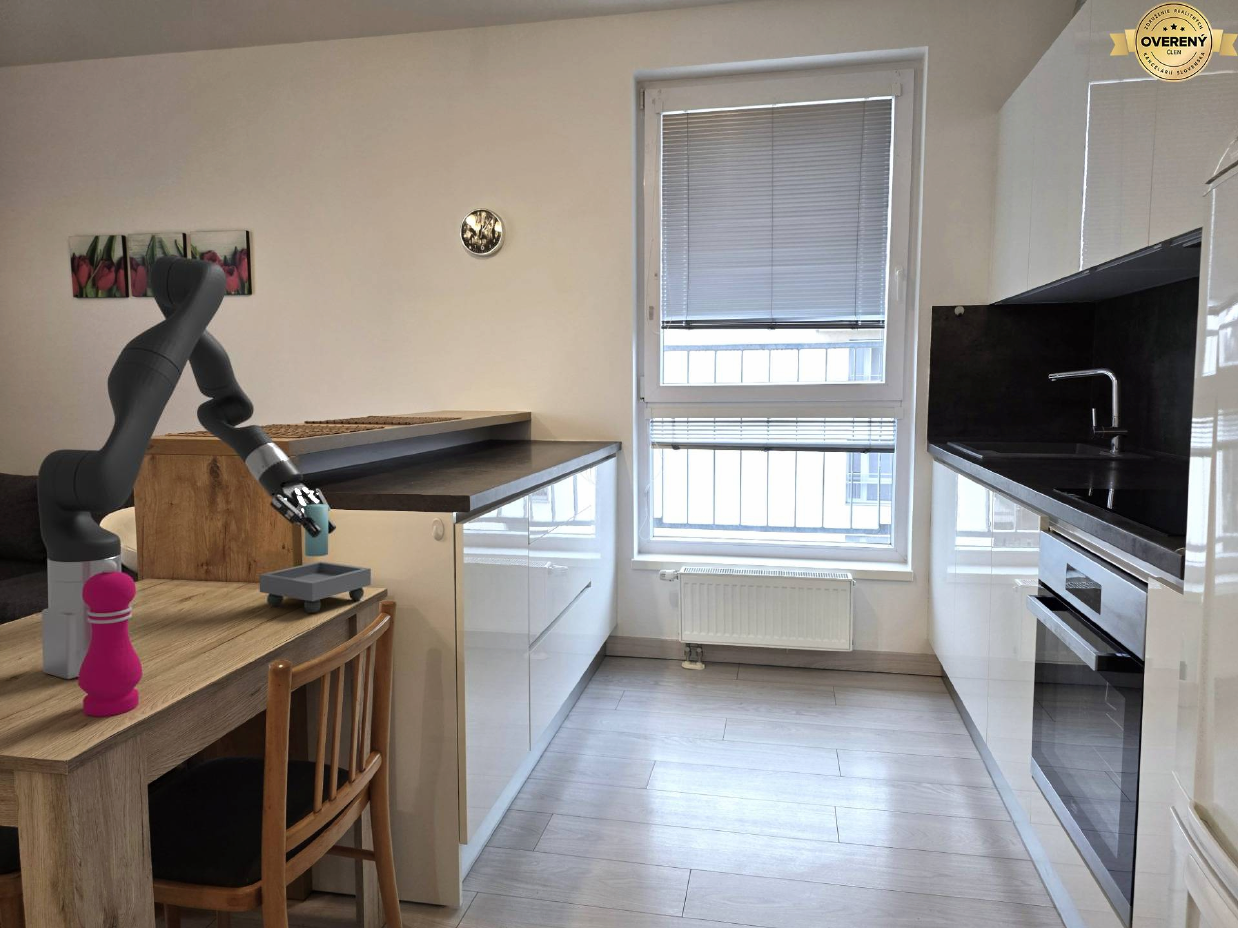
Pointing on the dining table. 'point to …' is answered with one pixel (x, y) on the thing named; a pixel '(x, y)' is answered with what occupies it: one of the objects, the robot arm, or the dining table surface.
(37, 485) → the robot arm
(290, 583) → the grey square tray
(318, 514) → the teal cylinder
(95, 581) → the pepper mill
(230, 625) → the dining table surface
